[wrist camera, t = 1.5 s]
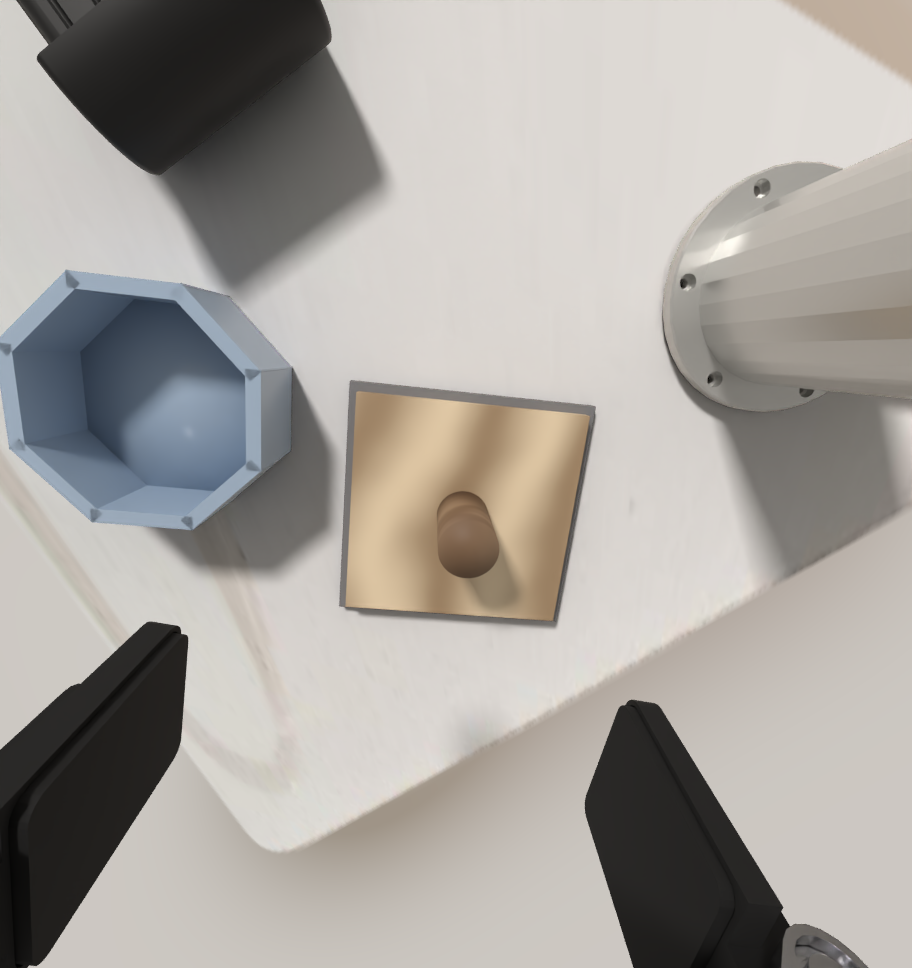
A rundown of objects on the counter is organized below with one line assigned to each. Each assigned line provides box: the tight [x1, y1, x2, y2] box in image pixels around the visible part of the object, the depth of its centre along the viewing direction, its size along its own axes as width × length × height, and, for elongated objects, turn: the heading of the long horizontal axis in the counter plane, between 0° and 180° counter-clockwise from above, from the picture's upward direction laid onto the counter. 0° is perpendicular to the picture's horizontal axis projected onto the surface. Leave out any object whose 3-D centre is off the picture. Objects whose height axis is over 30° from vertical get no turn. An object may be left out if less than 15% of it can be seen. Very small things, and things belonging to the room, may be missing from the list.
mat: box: [339, 380, 596, 621], centre depth 29 cm, size 14×14×1 cm
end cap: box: [16, 0, 332, 175], centre depth 19 cm, size 10×7×7 cm
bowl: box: [0, 270, 292, 530], centre depth 24 cm, size 11×12×5 cm
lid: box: [345, 391, 590, 621], centre depth 26 cm, size 13×13×6 cm
